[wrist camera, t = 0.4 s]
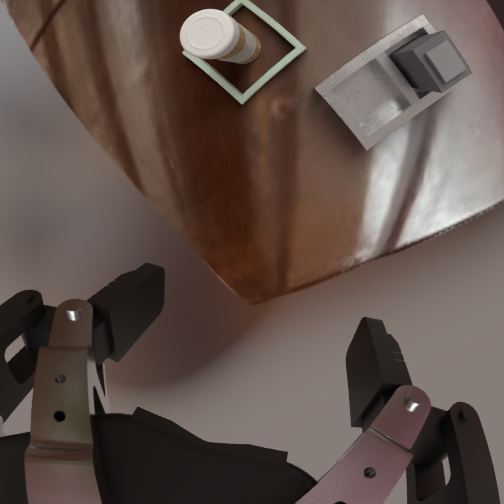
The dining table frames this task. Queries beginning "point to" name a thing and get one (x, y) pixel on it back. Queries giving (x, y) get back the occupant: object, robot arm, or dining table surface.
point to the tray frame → (242, 98)
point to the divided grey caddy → (378, 87)
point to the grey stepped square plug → (431, 62)
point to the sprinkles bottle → (218, 38)
